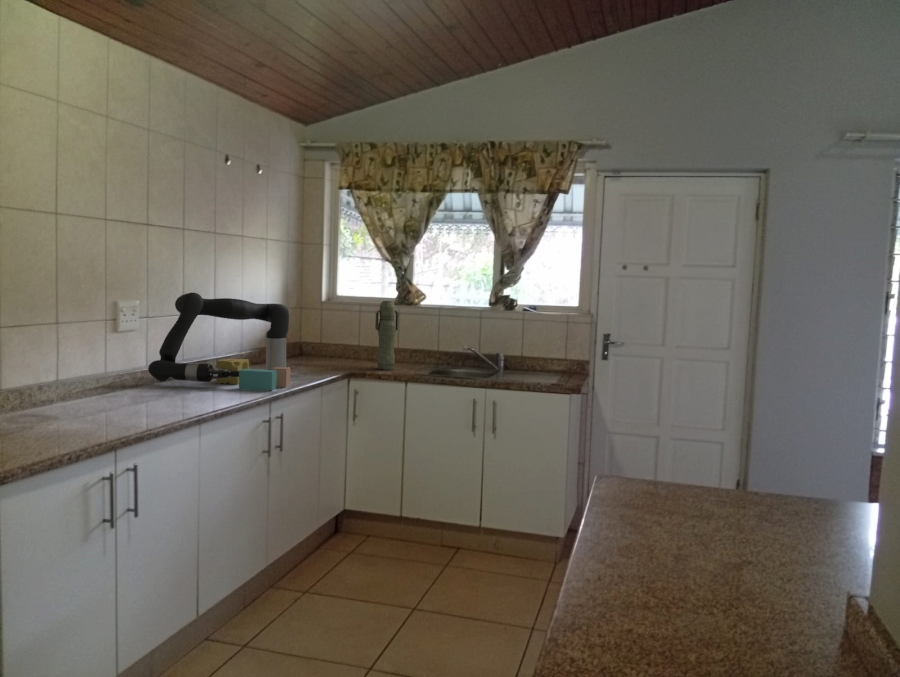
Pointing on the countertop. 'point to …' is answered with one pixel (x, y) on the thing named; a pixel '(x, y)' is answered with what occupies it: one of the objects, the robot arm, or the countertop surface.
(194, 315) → the robot arm
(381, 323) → the thermos
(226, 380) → the cheese
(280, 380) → the terracotta block
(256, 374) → the teal brick
